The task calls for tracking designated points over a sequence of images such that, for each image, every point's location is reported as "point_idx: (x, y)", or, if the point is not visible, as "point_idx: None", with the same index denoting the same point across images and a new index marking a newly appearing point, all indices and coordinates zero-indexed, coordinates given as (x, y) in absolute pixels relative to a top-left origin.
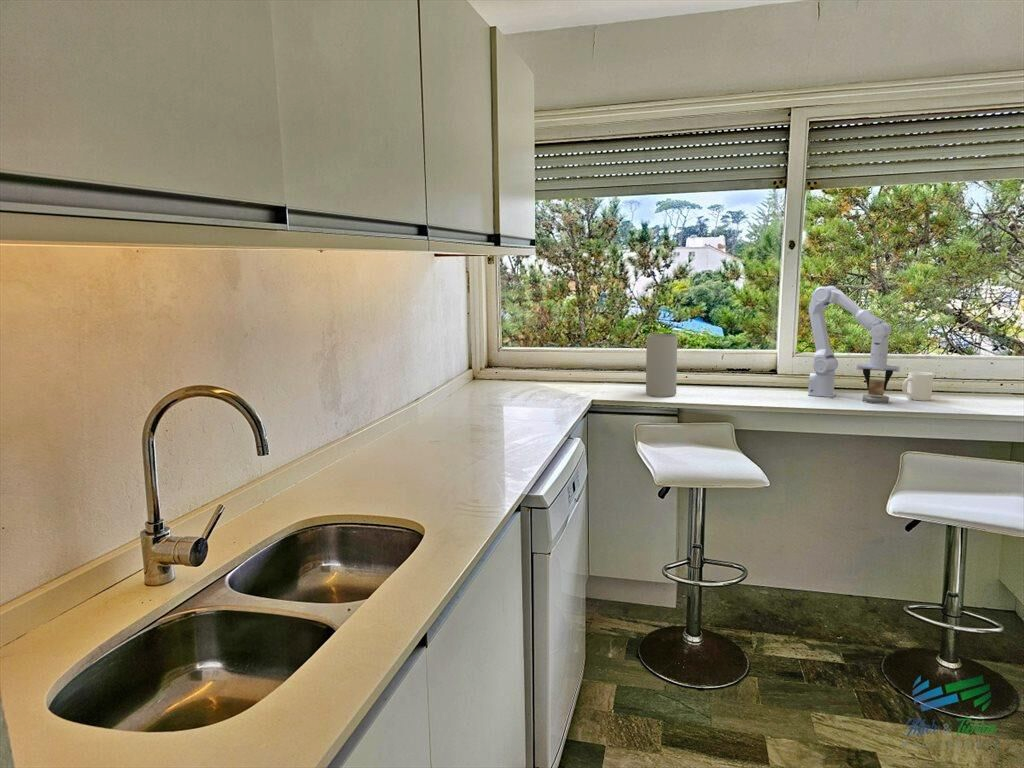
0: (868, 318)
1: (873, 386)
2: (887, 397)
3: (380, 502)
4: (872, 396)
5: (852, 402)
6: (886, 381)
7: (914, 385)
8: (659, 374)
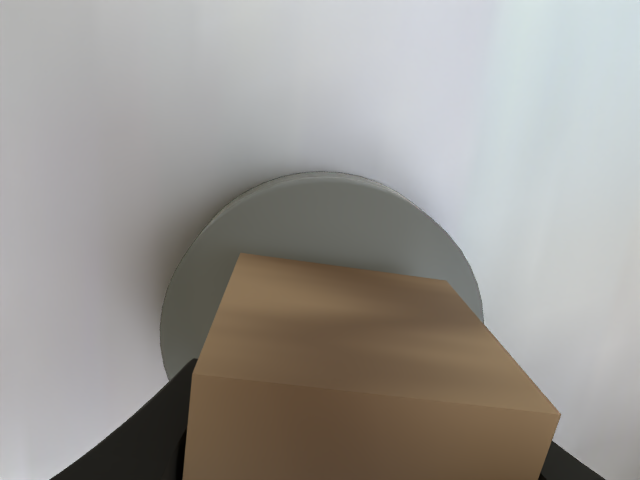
0: None
1: (418, 337)
2: (181, 315)
3: None
4: None
5: (591, 181)
6: (123, 458)
7: None
8: None
